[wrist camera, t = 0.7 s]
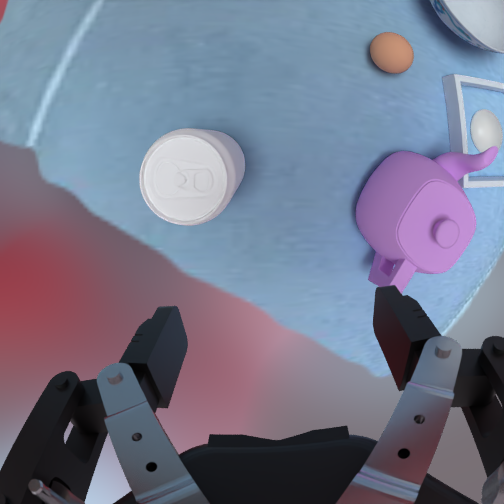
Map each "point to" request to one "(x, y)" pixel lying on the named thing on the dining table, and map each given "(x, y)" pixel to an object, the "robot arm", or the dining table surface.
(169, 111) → the dining table surface
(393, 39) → the ball
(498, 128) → the disc
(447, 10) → the chinaware
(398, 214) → the teapot
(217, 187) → the beverage can
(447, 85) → the grey square frame
